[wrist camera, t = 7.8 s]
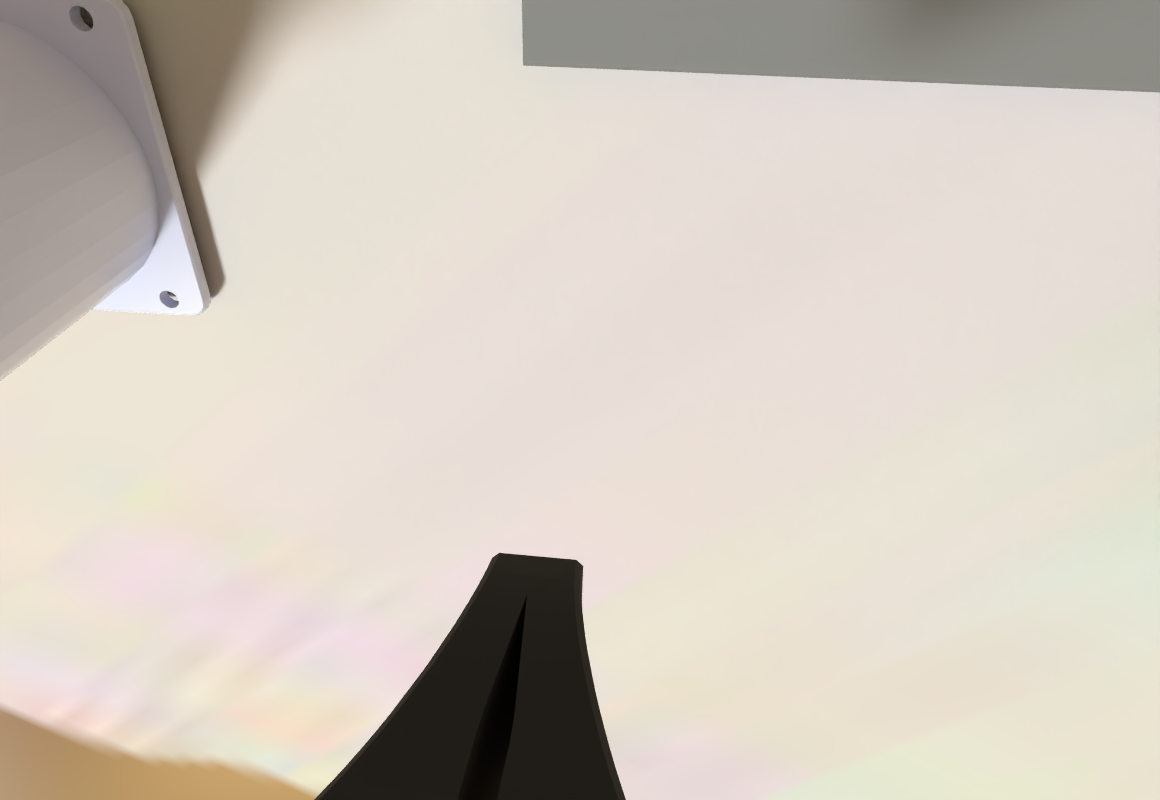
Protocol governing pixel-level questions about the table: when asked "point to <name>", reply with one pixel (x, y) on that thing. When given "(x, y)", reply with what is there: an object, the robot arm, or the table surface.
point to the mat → (859, 39)
